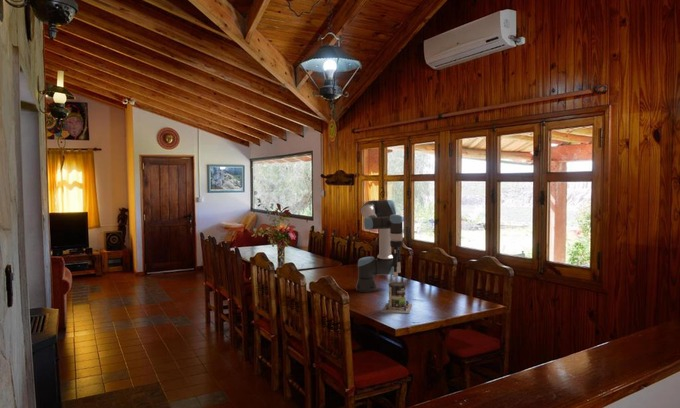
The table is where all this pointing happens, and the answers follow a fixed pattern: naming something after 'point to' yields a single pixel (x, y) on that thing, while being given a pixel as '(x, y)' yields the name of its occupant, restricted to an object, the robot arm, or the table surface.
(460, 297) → the table surface
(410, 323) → the table surface
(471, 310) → the table surface
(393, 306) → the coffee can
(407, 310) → the pin plate
